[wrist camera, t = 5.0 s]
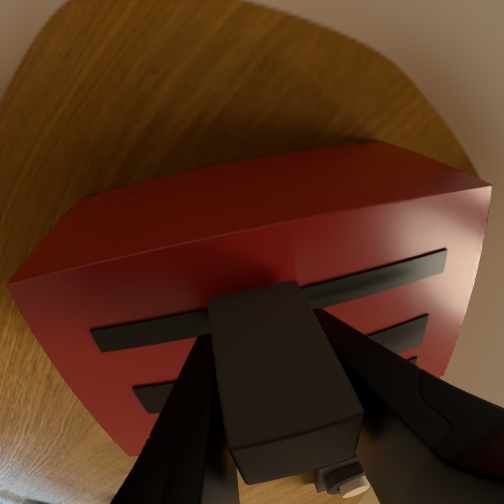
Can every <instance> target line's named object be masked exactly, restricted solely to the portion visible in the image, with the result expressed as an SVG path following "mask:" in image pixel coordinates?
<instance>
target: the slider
mask: <svg viewBox="0 0 504 504" xmlns="http://www.w3.org/2000/svg"><path fill="white" fill-rule="evenodd" d="M207 303H208V312H209V321H210V330H211V338H212V347H213V355H214V363H215V370H216V378H217V385H218V392H219V399H220V406H221V413H222V420H223V426H224V433H225V439H226V445H227V449H228V451H229V453H230V455H231V457H232V459H233V461H234V463H235V465H236V467H237V469H238V471H239V473H240V474H241V476H242V478H243V480H244V482H245V483H246V484H247V485H252V484H257V483H262V482H267V481H271V480H276V479H280V478H284V477H288V476H292V475H296V474H300V473H304V472H307V471H311V470H314V469H318V468H321V467H324V466H328V465H331V464H334V463H337V462H340V461H343V460H346V459H349V458H352V457H353V456H354V455H355V451H356V448H357V444H358V440H359V436H360V433H361V429H362V425H363V421H364V417H365V410H364V408H363V406H362V404H361V402H360V400H359V398H358V396H357V394H356V392H355V390H354V388H353V386H352V384H351V382H350V380H349V378H348V377H347V375H346V373H345V371H344V369H343V367H342V365H341V363H340V361H339V359H338V357H337V355H336V354H335V352H334V350H333V348H332V346H331V344H330V342H329V340H328V338H327V337H326V335H325V333H324V331H323V329H322V327H321V325H320V323H319V321H318V320H317V318H316V316H315V314H314V312H313V310H312V308H311V307H310V305H309V303H308V301H307V299H306V297H305V295H304V294H303V292H302V290H301V288H300V286H299V284H298V283H297V281H296V280H291V281H286V282H282V283H278V284H273V285H269V286H264V287H260V288H255V289H251V290H246V291H242V292H237V293H232V294H228V295H223V296H218V297H214V298H210V299H208V302H207Z"/></svg>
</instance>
